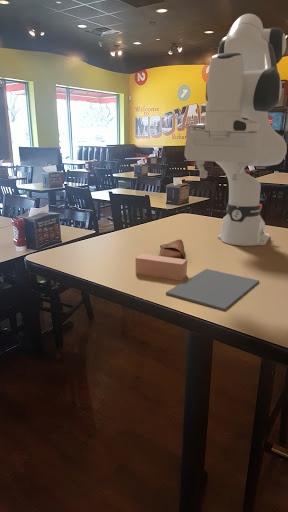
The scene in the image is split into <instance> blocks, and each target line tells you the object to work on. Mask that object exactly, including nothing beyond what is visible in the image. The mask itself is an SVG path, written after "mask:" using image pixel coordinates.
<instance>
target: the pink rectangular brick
mask: <svg viewBox="0 0 288 512" xmlns="http://www.w3.org/2000/svg"><path fill="white" fill-rule="evenodd" d="M187 267H188V259H178V258H171V257H163V256H159V255H157V254H156V255H154V254H147V253H141V254H139V255H137V256H136V257H135V274H136V273H137V274H136V275H143V276H149V277H155V278H161V279H169V280H176V281H183V280H184V279H185V278H186V277H187V276H188V275H187V272H188V270H187V269H188V268H187Z"/></svg>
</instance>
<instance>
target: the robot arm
mask: <svg viewBox="0 0 288 512" xmlns="http://www.w3.org/2000/svg"><path fill="white" fill-rule="evenodd" d="M286 48H287V38H286V34H285V32H284V30H283V29H282V28H280V27H270V28H264V26H263V22H262V20H261V18H260V17H259V16H257V15H256V14H253V13H245V14H242V15H241V16H239V17H237V19H236V20H235V21H234V22H233V24H232V26H230V29H229V31H228V32H227V34H226V36H225V37H223V38H222V39H221V40H220V42H219V44H218V48H217V49H218V51H217V53H216V54H214V55H212V56H211V58H210V61H209V67H208V75H207V82H206V85H205V101H206V102H207V103H206V104H207V105H206V109H205V122H204V123H198V124H197V123H192V124H191V125H189V126H188V127H187V128H186V132H185V133H186V134H185V138H186V141H185V144H184V151H183V152H184V154H183V155H184V158H185V159H186V161H195V164H196V165H195V166H196V167H197V169H198V171H199V178H201V179H207V178H208V174H209V173H208V170H205V167H204V165H205V162H215V163H216V164H217V165H218V166H219V167H220V168H221V169H222V170H223V172H224V173H225V175H226V177H227V182H228V203H227V204H226V215H225V216H223V218H222V222H221V229H220V234H217V239H219V240H221V241H222V242H223V243H225V244H228V245H233V246H234V245H235V246H241V247H242V246H243V247H244V246H246V247H248V246H249V247H250V246H265V245H266V244H267V243H268V241H269V240H270V238H271V234H270V233H266V232H265V228H266V223H265V221H264V219H263V218H262V216H261V210H262V208H263V204H262V203H260V200H261V199H260V198H261V187H262V184H261V182H260V181H259V180H258V179H257V178H255V177H254V176H252V175H250V174H248V173H247V172H246V171H245V169H246V167H270V166H275V165H276V166H277V165H280V163H282V162H283V160H284V159H285V158H286V154H287V148H288V146H287V143H286V141H285V139H284V137H283V136H282V135H280V134H279V133H278V132H276V130H275V129H274V128H273V127H272V124H271V123H270V120H269V111H271V110H272V109H273V108H275V107H276V106H277V105H278V104H279V102H280V100H281V96H282V90H283V88H282V86H283V85H282V79H281V74H280V72H279V70H278V66H277V64H279V62H281V60H282V59H283V57H284V54H285V52H286Z"/></svg>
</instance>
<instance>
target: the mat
mask: <svg viewBox="0 0 288 512" xmlns="http://www.w3.org/2000/svg"><path fill="white" fill-rule="evenodd" d="M259 283H260V280H258V279H254V278H249V277H245V276H240V275H236V274H232V273H226V272H222V271H217V270H213V269H209V268H205V269H203V270H202V271H200V272H198V273H196V274H195V275H193V276H192V277H190V278H188V279H187V280H185V281H183V282H181V283H179V284H177V285H176V286H174V287H172V288H170V289H169V290H167V291H166V292H165V295H166V296H167V295H168V296H170V297H174V298H177V299H181V300H184V301H187V302H192V303H195V304H198V305H203V306H206V307H209V308H213V309H217V310H221V311H223V312H225V311H227V310H228V309H229V308H230V307H232V305H234V304H235V303H237V302H238V300H240V299H241V298H242V297H244V296H245V295H246V294H247V293H248V292H250V291H251V290H252V289H253V288H254V287H256V285H258V284H259Z"/></svg>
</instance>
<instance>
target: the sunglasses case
mask: <svg viewBox="0 0 288 512" xmlns="http://www.w3.org/2000/svg"><path fill="white" fill-rule="evenodd" d="M184 245H185V244H184V242H183V240H182V239H176V240H173V241H172V242H169V243H168V242H167V243H163V244H161V245H159V247H160V249H159V250H160V251H159V255H158V256H163V257H171V258H178V259H185V255H186V254H185V246H184Z"/></svg>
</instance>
